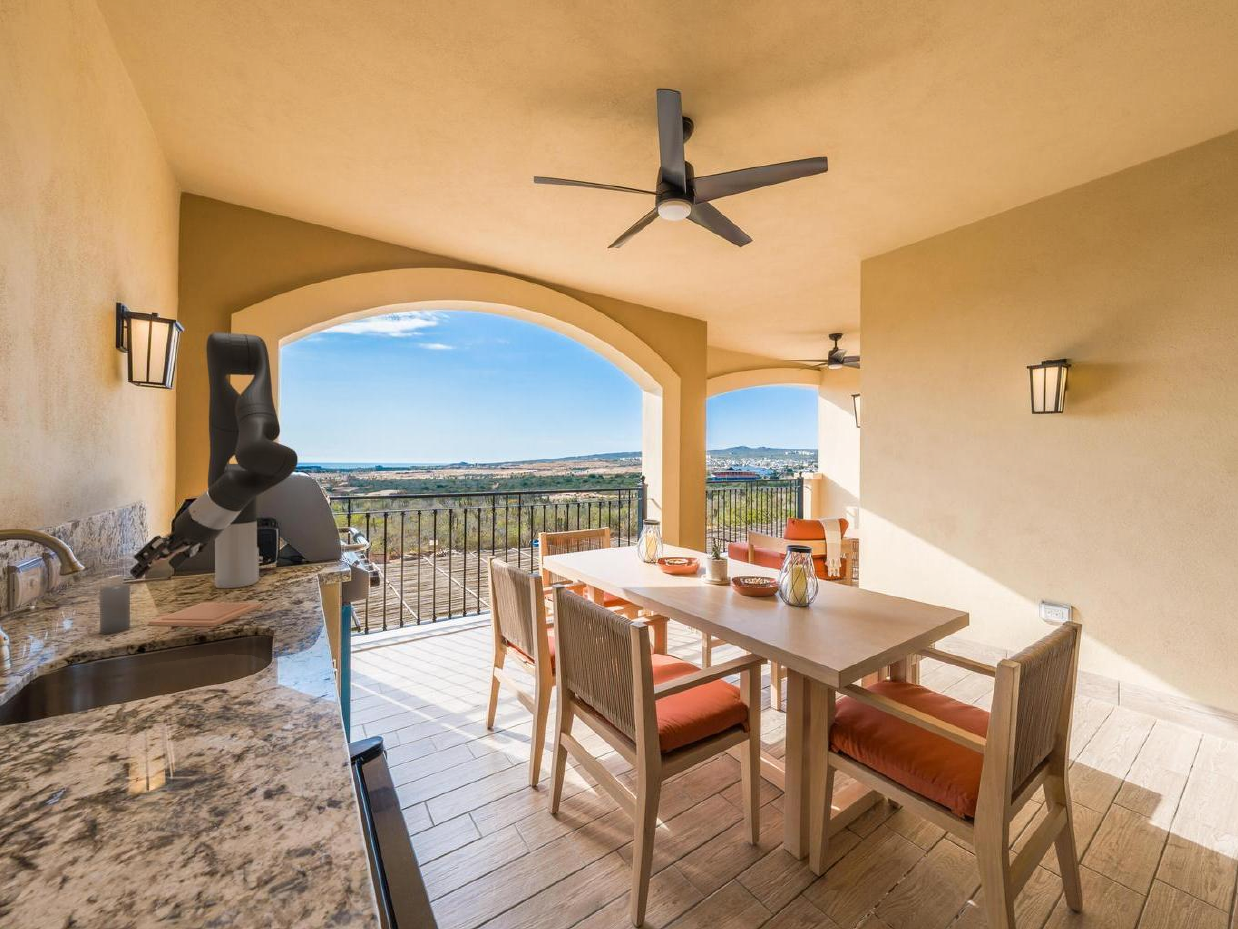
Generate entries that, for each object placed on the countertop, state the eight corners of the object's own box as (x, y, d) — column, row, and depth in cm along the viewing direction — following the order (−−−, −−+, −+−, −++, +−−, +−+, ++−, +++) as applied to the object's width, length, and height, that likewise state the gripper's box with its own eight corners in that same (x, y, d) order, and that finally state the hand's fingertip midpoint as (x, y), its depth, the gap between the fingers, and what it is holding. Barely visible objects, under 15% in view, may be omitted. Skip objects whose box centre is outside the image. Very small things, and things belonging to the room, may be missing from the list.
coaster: (202, 605, 122) (202, 601, 122) (261, 606, 122) (261, 602, 122) (148, 625, 108) (148, 620, 108) (214, 626, 108) (214, 621, 108)
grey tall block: (115, 626, 107) (114, 573, 107) (136, 626, 107) (135, 574, 107) (93, 633, 103) (92, 578, 103) (115, 634, 103) (114, 579, 103)
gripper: (224, 498, 112) (171, 550, 112) (166, 505, 97) (106, 564, 98) (248, 523, 112) (196, 575, 112) (194, 533, 98) (134, 593, 98)
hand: (154, 570), depth 105 cm, fingers open, 8 cm apart
